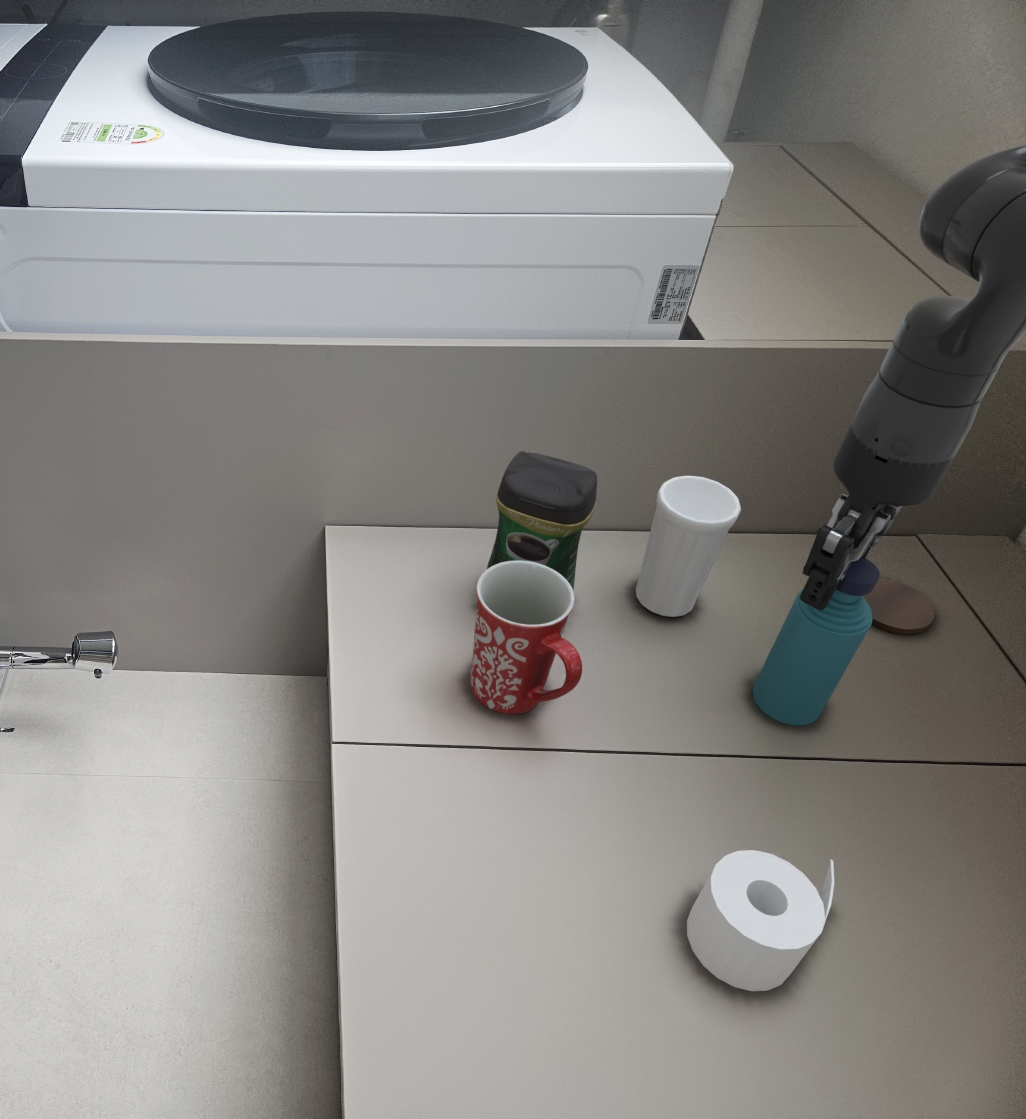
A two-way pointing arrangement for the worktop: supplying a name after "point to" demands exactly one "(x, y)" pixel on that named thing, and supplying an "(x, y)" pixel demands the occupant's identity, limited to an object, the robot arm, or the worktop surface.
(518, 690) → the mug
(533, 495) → the coffee jar
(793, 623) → the bottle
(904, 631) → the coaster
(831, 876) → the toilet paper
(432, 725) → the worktop surface
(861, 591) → the cap
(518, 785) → the worktop surface
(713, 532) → the cup
